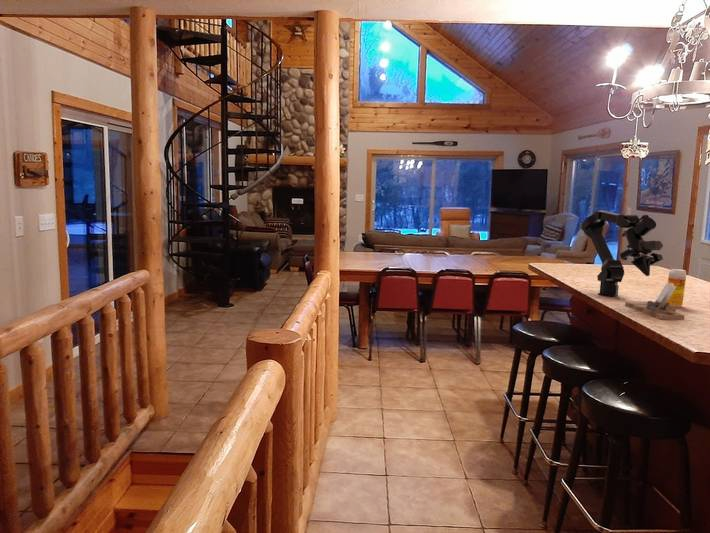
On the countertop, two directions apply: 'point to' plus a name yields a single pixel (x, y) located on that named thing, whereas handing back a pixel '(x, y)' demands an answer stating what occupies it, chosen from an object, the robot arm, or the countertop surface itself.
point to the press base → (655, 309)
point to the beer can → (677, 286)
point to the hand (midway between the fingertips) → (647, 275)
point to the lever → (665, 295)
